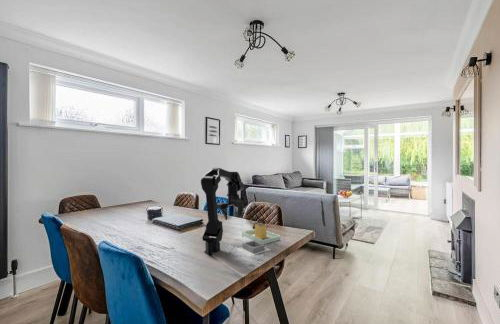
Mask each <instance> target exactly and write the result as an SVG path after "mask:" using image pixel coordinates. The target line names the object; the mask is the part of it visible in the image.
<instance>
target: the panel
mask: <svg viewBox="0 0 500 324" xmlns="http://www.w3.org/2000/svg"><path fill="white" fill-rule="evenodd" d="M236 250H237V251H239V252H241V253H243V254H244V255H246V256H248V257H252V256H255V255H257V254H262V253H264V252H267V251H271V250H272V249H270V248H268V247H266V244H261V243H258V242H256V241H254V240H250V241H246V242H243V243H242V246H241V247H238V248H236Z"/></svg>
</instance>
